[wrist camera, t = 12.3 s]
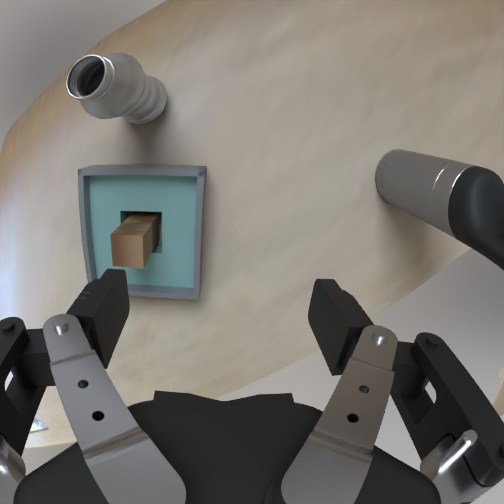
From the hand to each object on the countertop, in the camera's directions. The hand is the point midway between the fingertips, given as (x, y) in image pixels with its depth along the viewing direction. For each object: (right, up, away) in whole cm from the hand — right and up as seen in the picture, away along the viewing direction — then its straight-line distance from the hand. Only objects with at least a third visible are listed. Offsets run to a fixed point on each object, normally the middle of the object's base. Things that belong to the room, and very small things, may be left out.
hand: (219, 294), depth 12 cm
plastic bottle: (-13, +22, +22) cm, 34 cm away
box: (-14, +6, +29) cm, 33 cm away
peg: (-14, +6, +29) cm, 33 cm away
